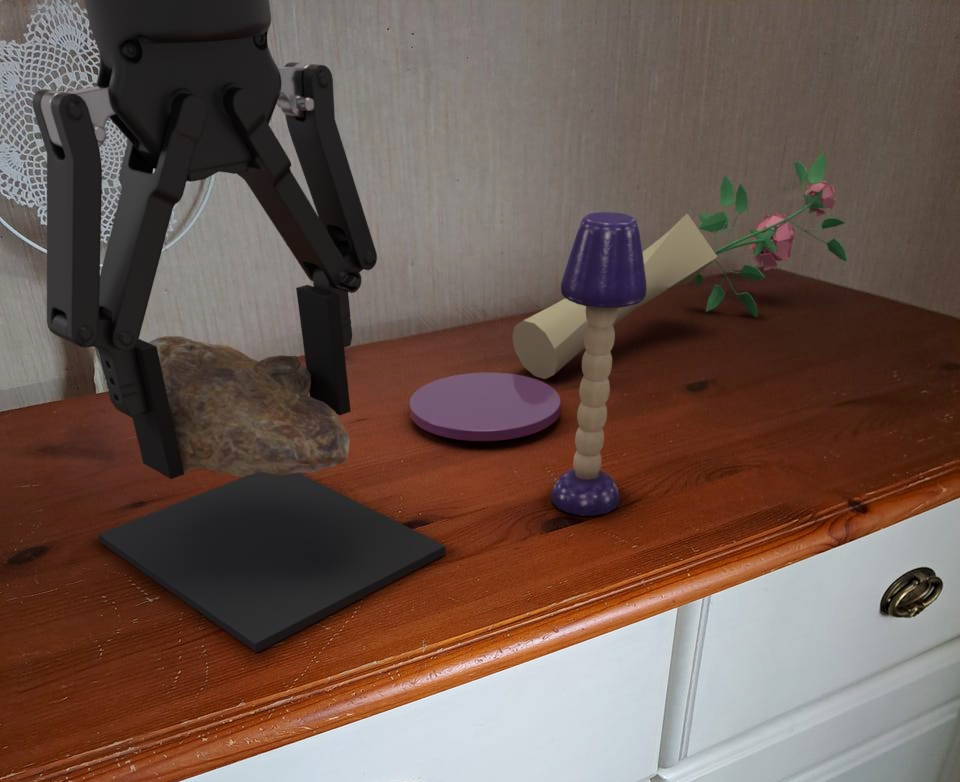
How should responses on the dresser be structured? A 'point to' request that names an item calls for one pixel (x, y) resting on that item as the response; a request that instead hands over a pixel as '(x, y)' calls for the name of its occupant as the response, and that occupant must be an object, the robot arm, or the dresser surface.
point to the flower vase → (679, 270)
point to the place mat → (270, 553)
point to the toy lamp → (598, 346)
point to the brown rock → (246, 411)
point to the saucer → (485, 406)
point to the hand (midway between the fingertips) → (251, 436)
